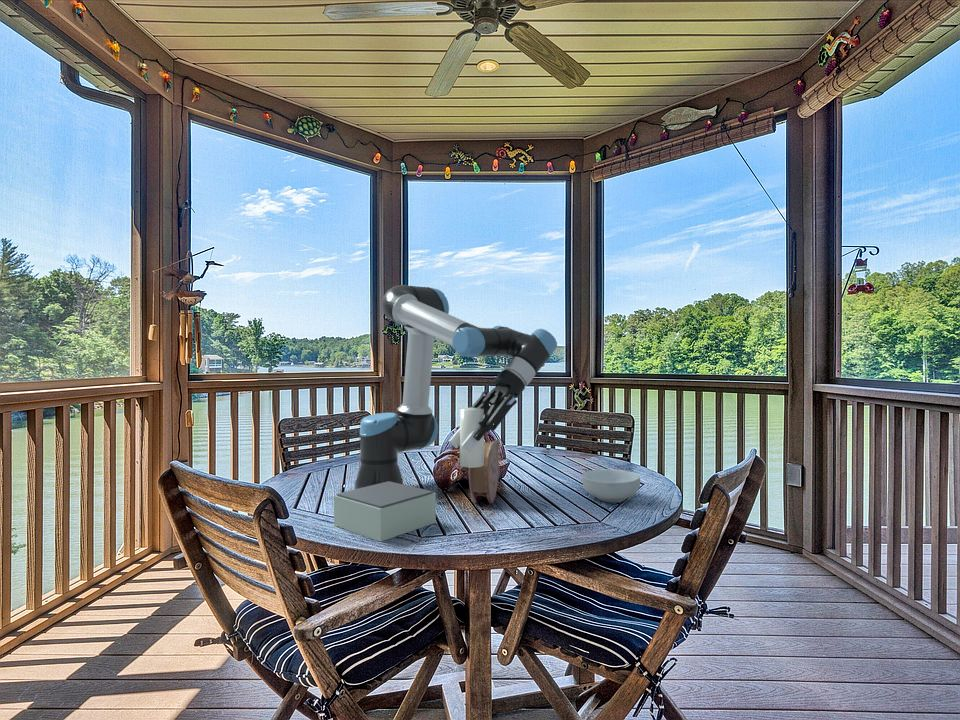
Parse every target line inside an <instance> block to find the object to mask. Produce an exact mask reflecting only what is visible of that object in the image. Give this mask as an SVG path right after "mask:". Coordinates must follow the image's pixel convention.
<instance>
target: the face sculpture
mask: <svg viewBox="0 0 960 720" xmlns="http://www.w3.org/2000/svg"><path fill="white" fill-rule="evenodd" d="M499 447H500V439H498V438H497V439H494V440H493V441H490V442H485V441H484V466H482V467H475V468H468V484H469V490H470V491H469V492H470V494H471V499H472V501H473V502H474V504H477V503H479V502H480V501H481V500H482V498H487V501H488V504H492V503H494V501H495V498H496V497H497V489H498V485H499V480H500V479H499V478H500V476H501V471H500V462H499Z"/></svg>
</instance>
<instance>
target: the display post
mask: <svg viewBox="0 0 960 720" xmlns="http://www.w3.org/2000/svg"><path fill="white" fill-rule="evenodd" d="M484 418H485V415H484V409H483V408H471V407H463V408H459V428H460V445H459V466H460V467H463V468H468V469H469V468H475V467H482V466H484V442H485V434H484V435H483V437H482V438H481V439H480V440H479V442H478V443H477V444H476V445H475V447H474V448H473V449H472V450H471V452H470V453H469V452H467V451H466V450H465V449H464V448H463V447H462V446H461V445H462V444H463V442H464V441H465V440H466V439H467V437H468V436H469V435H470V434H471V432H472V431H473V430H474V429H475V427H476V426H477V425H480V424H479V422H482V421H483V419H484ZM480 427H481V425H480Z"/></svg>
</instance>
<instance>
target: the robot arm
mask: <svg viewBox="0 0 960 720" xmlns="http://www.w3.org/2000/svg"><path fill="white" fill-rule="evenodd" d="M381 305H382V306H381V308H382V311H383V313H384V315H385V316H386V318H388V319H389V320H390V321H392V322H394V323H396V324H398V325H401V326H403V327H404V329H405V331H407V332H408V333H407V334H408V335H407V345H406V358H405V369H404V371H405V372H404V382H403V395H402V404H400V406H399V407H397V409H396V410H397V411H396V413H395V412H382V413H381V412H379V413H373V414H369V415H367V416H365V417H363V418H362V419H361V420H360V425H359V426H360V427H359V436H360V437H359V443H360V445H359V449H360V450H359V453H360V454H359V455H360V459H359V461H360V465H359V468H358V471H357V475H356V479H355V481H354V490H355V489H359V488H363V487H367V486H371V485H375V484H379V483H384V482H388V481H390V482H394V483H399V484H403V485H404V479H403V476H402V472H401V469H400V466H399V463H398V461H399V460H398V453H402V452H409V451H414V450H415V451H416V450H421V449H424V448H427V447H430V446H431V445H433V444H434V442H435V440H436V439H437V436H438V433H439V424H438V422H437V418H436V416H434V415H433V410H432V408H431V407H430V406H429V402H430V390H431V382H432V381H431V378H432V370H433V369H432V367H433V358H434V357H433V355H434V347H435V346H434V345H435V339H436V340H439V341H441V342H442V343H445V344H447V345H449V346H452V347H453V349H454V351H455V352H456V354H457V355H458V356H461V357H468V358H478V357H509V358H510V360H509V362H508V363H506V365H505V366H504V368H503V370H501V371H500V372H499V374H497V377H495V379H494V383H495V386H494V387H493V388H492V389H491V390H490V391H489V392H487V391H486V390H484V391H483V392H482V393H481V394H480V396H479V397H478V399H477V400H476V401H475V402H474V403H473V405H471V407H470V408H483V409H484V419H483V421H482V422H479V424H480V425H481V427H480V425H477V426H476V427H475V429H474V430H473V431H472V432H471V434H470V435H469V436H468V437H467V439H466V440H465V441H464V442H463V444H462V445H461V446H462V447H463V448H464V449H465V450H466V451H467V452H469V453H470V452H471V450H472V449H473V448H474V447H475V445H476V444H477V443H478V442H479V440H480V439H481V438H482V437H483V435H484V436H485V434H486V433H488V432H490V431H492V432H494V431H495V430H496V429H497V428H498V427H499V425H500V424H501V422H503V419H504V418H505V417H506V416H507V414H508V413H509V412H510V410H511V409H512V408H513V407H514V406H515V405H516V404H517V403H518V400H517V398H519V397H520V396H521V395H522V393H523V392H524V390H525V388H526V387H528V385H529V384H530V383H531V382H532V380H533V379H534V378H535V376H536V375H537V374H538V372H539V370H540V369H542V367H543V366H544V365H545V364H546V363H547V362H548V361H549V359H550V358H551V357H552V355H553V353H554V352H555V350H556V349H557V348H558V341H556V338H555V336H554V335H553V334H552V333H551V332H549V331H548V330H546V329H544V328H538V329H535V330H534V331H533V332H531V334H528V333H525V332H524V333H523V332H521V331H519V330H514V329H512V328H510V327H508V326H502V325H495V326H493V327H492V328H491V327H489V328H488V327H480V326H476V325H474V324H471V323H469V322H467V321H465V320H463V319H461V318H459V317H457V316H456V317H455V316H453V315H451V314H449V312H450V305H449V301H448V299H447V297H446V295H445V293H444V292H443V291H442V290H440V289H438V288H433V287H429V286H416V285H415V286H414V285H407V284H400V285H399V284H398V285H395V286H393V287H391V288H388V290H386V292H385V294H384V295H383V297H382V301H381ZM448 442H449V443H450V444H451V445H452V447H454V449H458V447H460V427H459V428H458V429H457V430H456V432H455V433H454V434H453V435H452V436H451V438H450V439H448Z"/></svg>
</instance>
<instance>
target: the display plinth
mask: <svg viewBox="0 0 960 720" xmlns="http://www.w3.org/2000/svg"><path fill="white" fill-rule="evenodd" d="M436 494H437V493H435V492H434V491H433V490H428V489H424V488H419V487H415V486H411V485H406V484H404V483H403V484H399V483H394V482H390V481H388V482H384V483H379V484H375V485H371V486H367V487H363V488H359V489H355V488H354V489H351V490H347V491H343V492H337V493H336V495H333V526H334V525H337V526H339V527H338V528H340V527H341V528H340V529H342V528H344V529H343V530H345V529H347V530H346V531H348V530H349V531H348V532H351V533H354V534H358V535H360V536H363V537H366V538H369V539H371V540H375V541H378V542H384V541H386V540H390V539H392V538H395V537H398V535H399V536H401V535H404V534H406V533H407V534H408V533H411V532H413V531H416V530H418V529H422V528H424V527H428V526H430V525H433V524H435V523H437V522H436V519H437V518H436V517H437V514H436V510H437V509H436V506H437V505H436V503H437V502H436V501H437V500H436V497H437V495H436ZM337 526H336V527H337Z"/></svg>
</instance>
